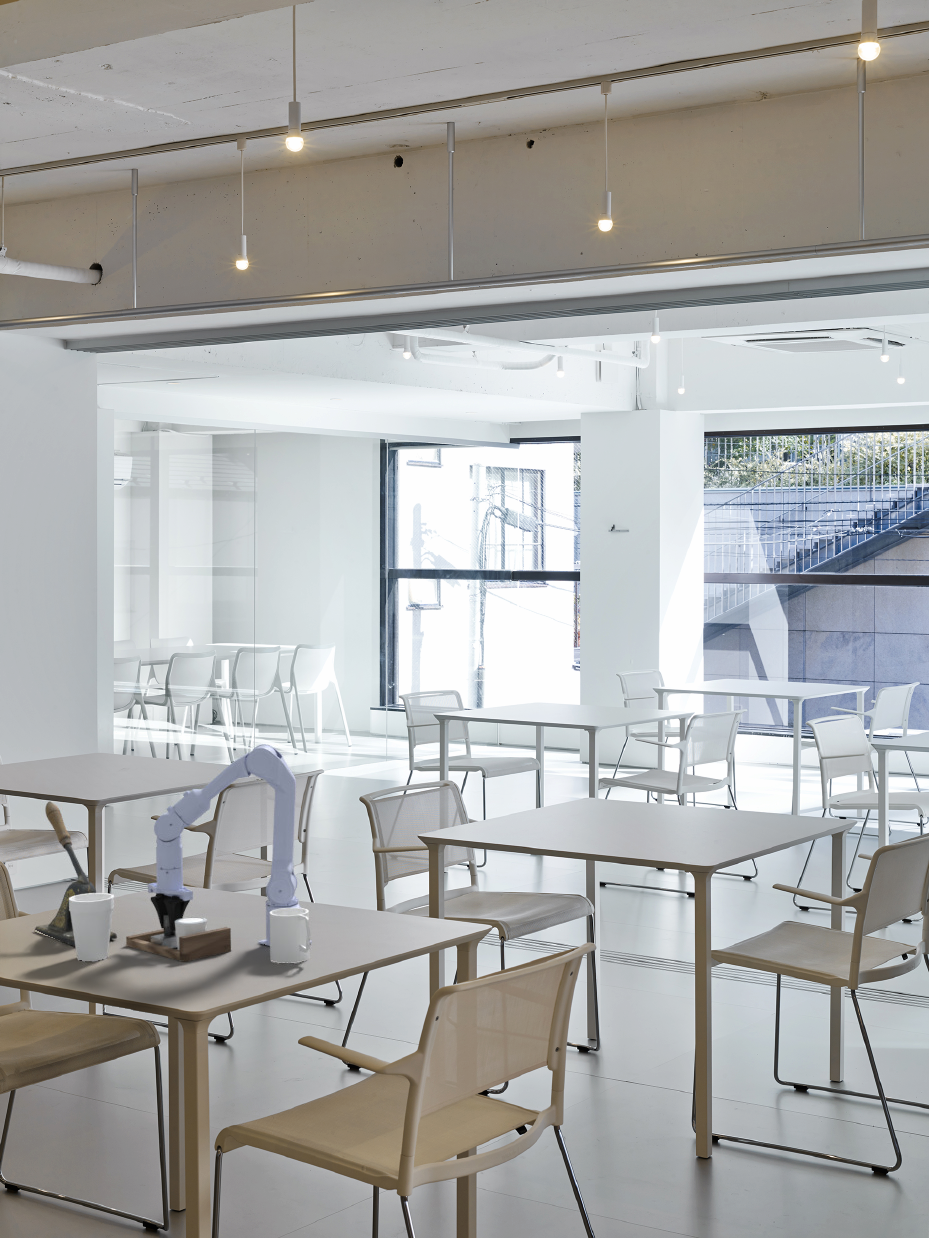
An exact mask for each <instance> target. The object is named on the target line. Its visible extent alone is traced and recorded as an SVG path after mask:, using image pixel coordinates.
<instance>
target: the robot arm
mask: <svg viewBox="0 0 929 1238" xmlns="http://www.w3.org/2000/svg"><path fill="white" fill-rule="evenodd" d="M251 775H253V776H255V777H257V778H259V779H262V780H264V781H265V782H266V783H267V784H268V785H269V786H270V787H272V789H273V790H274V808H273V809H274V810H273V812H274V813H273V837H272V857H271V859H272V861H271V869H270V878H269V881H268V883H267V885H266V887H265V894H266V897H267V900H266V901H265V929H266V930H265V932H266V933H265V936H266V939H262V940H258V941H257V943H258V944H261V945H264V944H265V946H267V947H270V911H272V910H276V909H281V908H303V907H301V905H300V904H299V898H297V896H296V895H295V894H296V890H297V888H298V878H297V877H296V875H295V872H294V871H295V870H294V868H295V865H294V864H295V863H294V852H295V851H294V848H295V847H294V846H295V845H294V843H295V826H296V825H295V823H296V821H295V820H296V796H297V795H296V793H297V791H296V790H297V779H296V777H295V775H294V773H293V772H292V770H291V769H290V767H289V765H288V763H287V762H286V760H285V758H284V756H283V754H282V753H281V752H280V751H278V749H276V748H275V747H273V746H272V745H270V744H266V743H264V744H263V743H262V744H259V745H256V746H255V747H254V748H253V749H252V750H251V751H248V752H246V753H245V754H243V755H241V756H240V757H238V758H237V759H235V760H233V761H232V762H231V763H230V764H229V765H228V766H226V768H225V769H223V771H221V772H220V773H219V774H217V776H216V777H214V778H213V780H211V781H210V782H209V783H207V785H205V786H204V787H203V788H202V789H201V788H198V789H197V788H193V789H191V790H190V791H189V790H186V791H184V793H183V794H182V796H183V797H182V798H181V799H179V800H178V801H177V802H176V803H174V804H173V806H172V805H170V806H168V807H167V808H166V810H167V812H165V813H163V814H161V815H160V816H159V817H158V818H157V819H156V820H155V822H154V824H153V826H154V827H153V832H154V834H155V836H156V848H155V859H156V860H155V861H156V862H155V863H156V882H152V883H148V884H147V892H148V893H149V894H152V893H153V894H155V896H151V897H150V902H151V903H152V905H153V906H154V909H155V911H156V913H157V917H158V921H159V925H160V928H161V929H164V917H163V915H164V914H166V913H168V916H169V925H170V930H171V931H175V930H176V928H175V921H176V920H178V919H181V918H184V915H185V911H186V909H187V908H188V906H189V903H190V902H191V901H193V900H194V890H192V889H189V888H187V887H186V886H184V866H183V865H184V863H183V862H184V861H183V852H184V851H183V844H182V840H183V839H182V833H183V831H184V829H185V828H189V827H190V826H191V825H193V824H194V823H195V822H196V821H197V820H198V819H199V818H201V817H202V816H203V815H204V814H205V813H206V812H208V811H209V810H210V809H211V801H212V800H213V799H214V798H215V797H216V796H218V795H219V794H220V793H221V792H223V791H224V790H225V789H227V787H229V786H230V785H231V784H233V783H234V782H235V781H236V780H238V779H243V778H249V777H251ZM303 909H305V908H303ZM312 943H313V941H312V940H310V944H312Z"/></svg>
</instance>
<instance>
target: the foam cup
mask: <svg viewBox="0 0 929 1238" xmlns="http://www.w3.org/2000/svg"><path fill="white" fill-rule="evenodd" d="M114 908H115V895H114V894H113V893H112V894H111V893H107V892H106V893H105V892H96V893H88V894H80V895H76V896H72V897H70V898H69V911H70V913H71V920H72V926H73V933H74V940H75V946H74V947H75V952H76V958H77V961H79V960H82V961H81V962H85V961H92V962H98V960H100V961H103V960H102V959H104V960H106V959H108V955H109V948H110V941H111V939H110V932H112V931H111V930H112V923H113V922H112V920H113V911H114Z"/></svg>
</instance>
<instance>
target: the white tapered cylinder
mask: <svg viewBox="0 0 929 1238" xmlns="http://www.w3.org/2000/svg"><path fill="white" fill-rule="evenodd" d="M207 923H208V919H207V918H205V917H198V916H195V917H193V916H191V917H183V918H181V919H178V920H176V921H175V928H176V937H177V947H176V948H177V950H179V937H182V936H186V935H191V934H196V933H201V932H205V931H207V926H208V925H207Z"/></svg>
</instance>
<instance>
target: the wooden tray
mask: <svg viewBox="0 0 929 1238" xmlns="http://www.w3.org/2000/svg"><path fill="white" fill-rule="evenodd" d="M231 930H232V929H231V927H228V926H224V927H220V928H216V929H211V930H206V931H205V932H201V933H196V934H191V935H186V936H182V937H179V950H178V949H176V948H169V947H165V946H161V945H158V944H154V943H151V936H155V935H160V934H164V928H161V929H157V930H152V931H147V932H143V933H138V934H134V935H133V934H132V935H128V936H125V937H126V938H125V940H126V941H125V943H126V944H125V945H126V947H129V948H130V947H131V948H133V949H137V950H140V951H144V952H147V953H152V954H155V955H158V956H161V957H165V958H169V959H172V960H176V961H180V962H183V963H184V962H190V961H193V960H199V959H202V958H206V957H207V958H208V957H211V956H215V955H220V954H224V953H229V952H232V933H231V932H232V931H231Z"/></svg>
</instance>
